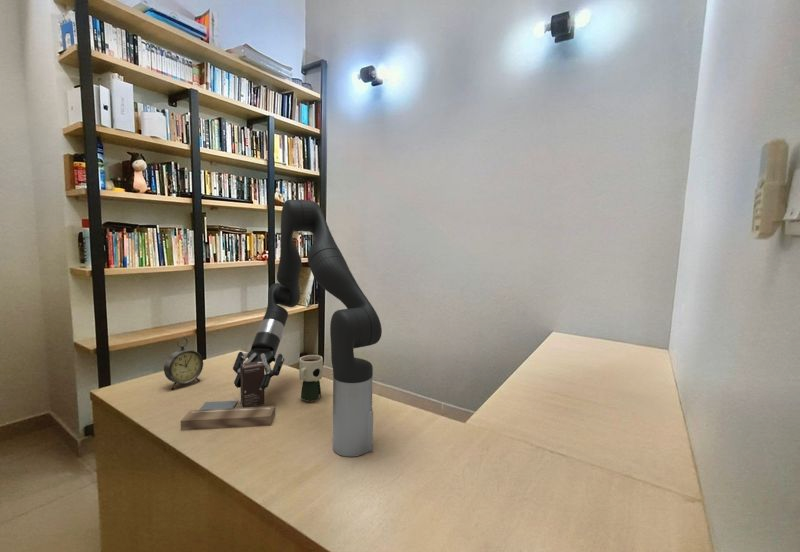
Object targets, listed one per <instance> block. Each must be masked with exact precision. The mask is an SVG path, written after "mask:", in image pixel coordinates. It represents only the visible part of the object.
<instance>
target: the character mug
mask: <svg viewBox="0 0 800 552" xmlns="http://www.w3.org/2000/svg"><path fill="white" fill-rule="evenodd" d="M298 359H299V363H298V367H299V369H298V371H299V372H298V373H299V375H298V377H299V380H300V381H303V382H302V383H301V390H300V399H302V401H307V402H315V401H318V400H320V397H322V389H321V388H322V387H321V382H320V380H322V378H323V377H324V371H323V367H324V359H323V356H321V355H319V354H307V355H303V356H300V357H299V358H298Z"/></svg>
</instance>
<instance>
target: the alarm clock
mask: <svg viewBox="0 0 800 552" xmlns="http://www.w3.org/2000/svg"><path fill="white" fill-rule="evenodd" d="M182 339H184V340H185V341H186V343H185V344H184V345H181V346H180V345H179V341H180V340H182ZM188 342H189V341H188V338H186V337H184V336H182V337H180V338H178V340H177V342H176V345H177V347H179V348H180V349H178V350H176V351H174V352H173V353H171V354H170V355H169V356H168V357H167V358H166V360H165V362H164V366H163V371H164V372H163V373H164V376H165V377H166V378H167V379H168V380H169V381H170V382H173V384H172V387H171V388H170V390H174V389H175V387H176V385H177V384H179V385H187V384H190V383H191V382H193V381H195V380H196V381H197V382H200V379H199V378H198V377H199V376H200V375H201V373H202V371H203V369H204V361H203V360H204V358H203V357H202V355H201V354H200V353H199V351H196V350H193V349H185V347H186V346H187V345H188Z"/></svg>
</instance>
